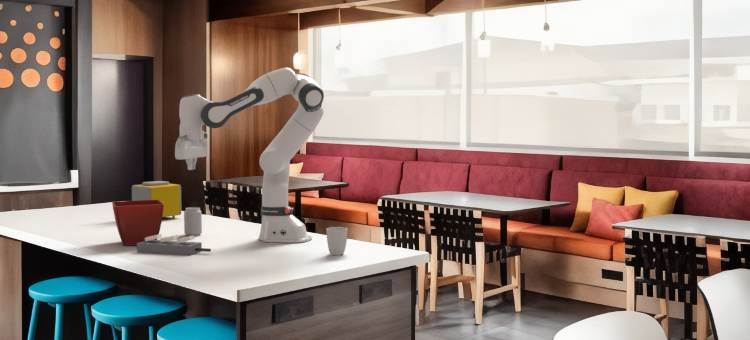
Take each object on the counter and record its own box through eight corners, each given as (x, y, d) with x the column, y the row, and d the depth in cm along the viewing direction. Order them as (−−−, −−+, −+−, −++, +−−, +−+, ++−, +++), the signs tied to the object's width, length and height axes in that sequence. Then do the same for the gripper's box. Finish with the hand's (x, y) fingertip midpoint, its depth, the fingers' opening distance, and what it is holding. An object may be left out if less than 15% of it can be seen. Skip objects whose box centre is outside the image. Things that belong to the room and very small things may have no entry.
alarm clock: (163, 215, 440) (163, 179, 439) (182, 218, 430) (182, 181, 429) (130, 219, 426) (129, 182, 424) (149, 222, 415) (148, 184, 414)
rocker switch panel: (215, 252, 332) (215, 242, 332) (204, 256, 324) (204, 246, 323) (149, 248, 340) (149, 239, 340) (137, 252, 332) (136, 242, 332)
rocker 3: (194, 238, 331) (193, 235, 331) (190, 240, 328) (189, 236, 328) (181, 242, 333) (180, 238, 333) (177, 243, 330) (176, 239, 330)
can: (197, 236, 371) (197, 209, 370) (181, 236, 373) (181, 208, 372) (204, 234, 378) (204, 207, 378) (188, 233, 380) (188, 206, 379)
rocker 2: (177, 238, 333) (177, 234, 333) (173, 239, 330) (172, 235, 330) (165, 240, 335) (164, 237, 335) (161, 242, 332) (160, 238, 332)
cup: (336, 251, 334) (336, 226, 333) (351, 254, 329) (351, 228, 328) (322, 254, 328) (321, 228, 327) (337, 256, 322) (337, 230, 322)
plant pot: (112, 240, 359) (111, 200, 358) (159, 238, 366) (158, 199, 365) (116, 248, 342) (115, 206, 340) (165, 245, 348) (164, 204, 347)
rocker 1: (161, 237, 335) (161, 233, 335) (157, 238, 332) (156, 234, 332) (149, 240, 337) (148, 236, 337) (145, 241, 334) (144, 237, 334)
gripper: (185, 136, 330) (185, 171, 331) (210, 134, 350) (210, 168, 351) (170, 135, 332) (171, 171, 333) (196, 134, 352) (196, 167, 353)
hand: (191, 169), depth 342 cm, fingers closed
